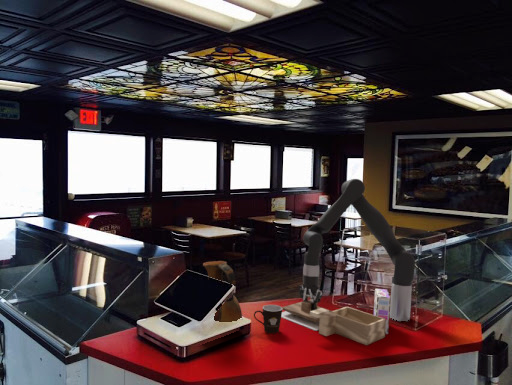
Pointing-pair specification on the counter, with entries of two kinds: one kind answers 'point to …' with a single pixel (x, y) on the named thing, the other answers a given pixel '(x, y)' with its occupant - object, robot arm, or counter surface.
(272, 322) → the coffee mug
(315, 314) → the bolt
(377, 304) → the candy box
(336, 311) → the wooden box
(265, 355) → the counter surface
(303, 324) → the mat
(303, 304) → the lid
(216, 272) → the ceramic pitcher
